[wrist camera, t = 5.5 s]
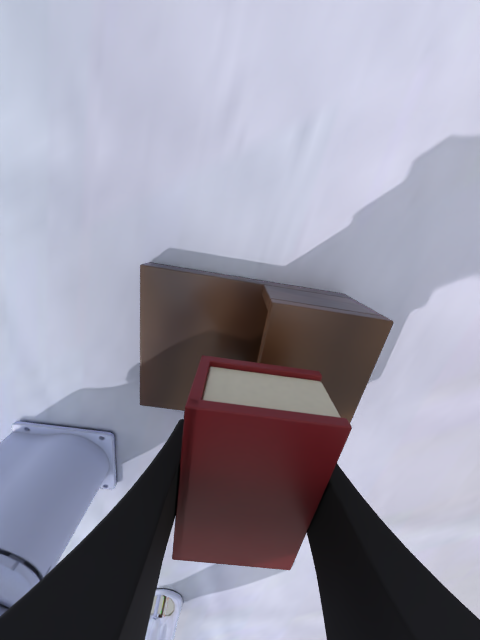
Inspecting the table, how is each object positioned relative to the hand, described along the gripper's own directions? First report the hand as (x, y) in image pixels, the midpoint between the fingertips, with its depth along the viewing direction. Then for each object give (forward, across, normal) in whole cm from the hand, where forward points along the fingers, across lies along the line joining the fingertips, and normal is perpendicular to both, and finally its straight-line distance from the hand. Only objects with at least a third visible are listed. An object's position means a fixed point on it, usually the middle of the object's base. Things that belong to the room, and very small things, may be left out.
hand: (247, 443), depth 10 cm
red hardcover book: (0, 0, 0) cm, 1 cm away
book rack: (+9, +1, 0) cm, 9 cm away
